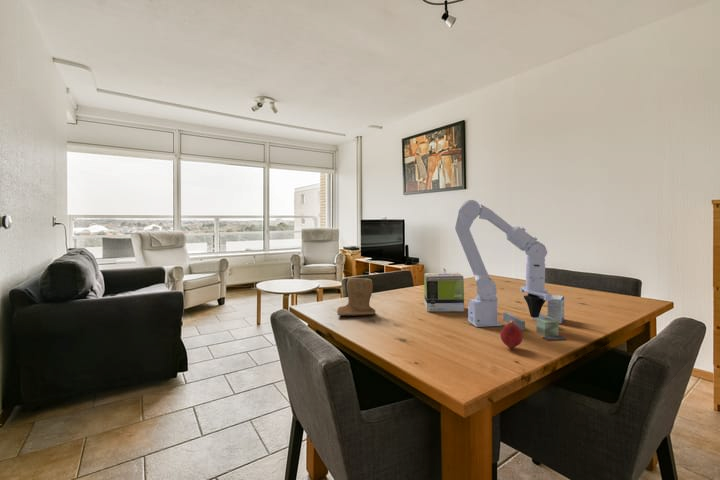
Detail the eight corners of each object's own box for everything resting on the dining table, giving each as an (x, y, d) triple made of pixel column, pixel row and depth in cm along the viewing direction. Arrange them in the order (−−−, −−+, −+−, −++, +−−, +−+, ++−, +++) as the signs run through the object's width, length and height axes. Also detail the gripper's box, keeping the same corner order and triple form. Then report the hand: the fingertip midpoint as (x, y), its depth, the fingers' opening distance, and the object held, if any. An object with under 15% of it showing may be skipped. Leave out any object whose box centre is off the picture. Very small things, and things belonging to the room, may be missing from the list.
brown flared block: (373, 310, 143) (373, 274, 142) (376, 317, 131) (376, 278, 130) (337, 311, 142) (336, 275, 141) (337, 319, 130) (336, 280, 129)
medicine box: (561, 324, 119) (561, 299, 119) (546, 322, 122) (547, 298, 121) (564, 319, 125) (564, 295, 125) (550, 317, 128) (550, 294, 128)
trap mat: (547, 340, 103) (547, 339, 103) (542, 338, 105) (542, 336, 105) (566, 339, 103) (566, 338, 103) (561, 337, 106) (561, 335, 106)
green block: (544, 336, 107) (545, 322, 107) (536, 332, 112) (536, 318, 111) (558, 336, 107) (558, 321, 107) (549, 331, 112) (549, 317, 112)
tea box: (459, 306, 147) (459, 272, 146) (464, 312, 137) (464, 275, 136) (424, 306, 148) (423, 272, 148) (426, 312, 138) (426, 275, 138)
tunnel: (521, 330, 113) (521, 321, 113) (503, 320, 125) (503, 312, 125) (557, 328, 114) (557, 319, 114) (535, 318, 126) (535, 310, 126)
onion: (521, 353, 93) (521, 324, 93) (498, 349, 96) (498, 321, 96) (523, 347, 98) (524, 319, 98) (502, 343, 101) (502, 316, 101)
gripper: (561, 280, 108) (560, 322, 109) (533, 273, 123) (533, 311, 124) (539, 281, 108) (539, 323, 108) (515, 274, 122) (514, 311, 123)
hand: (534, 317), depth 116 cm, fingers closed
